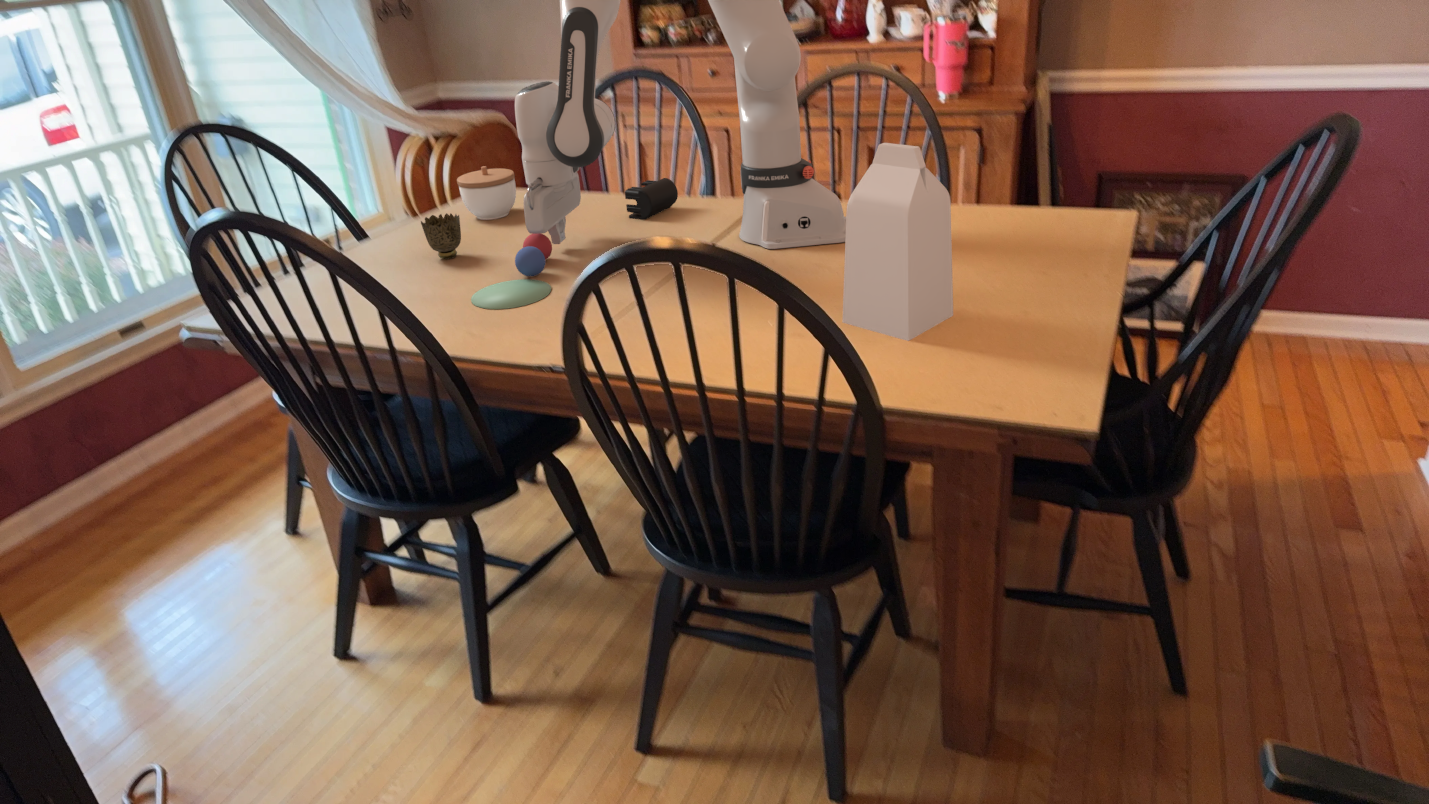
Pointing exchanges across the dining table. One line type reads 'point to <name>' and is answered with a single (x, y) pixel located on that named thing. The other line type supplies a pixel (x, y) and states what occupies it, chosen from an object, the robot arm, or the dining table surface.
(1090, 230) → the dining table surface
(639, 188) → the end cap
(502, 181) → the lidded bowl
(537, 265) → the navy ball
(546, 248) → the red rubber ball
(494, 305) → the pale green ellipsoid
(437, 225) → the cup
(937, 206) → the milk
